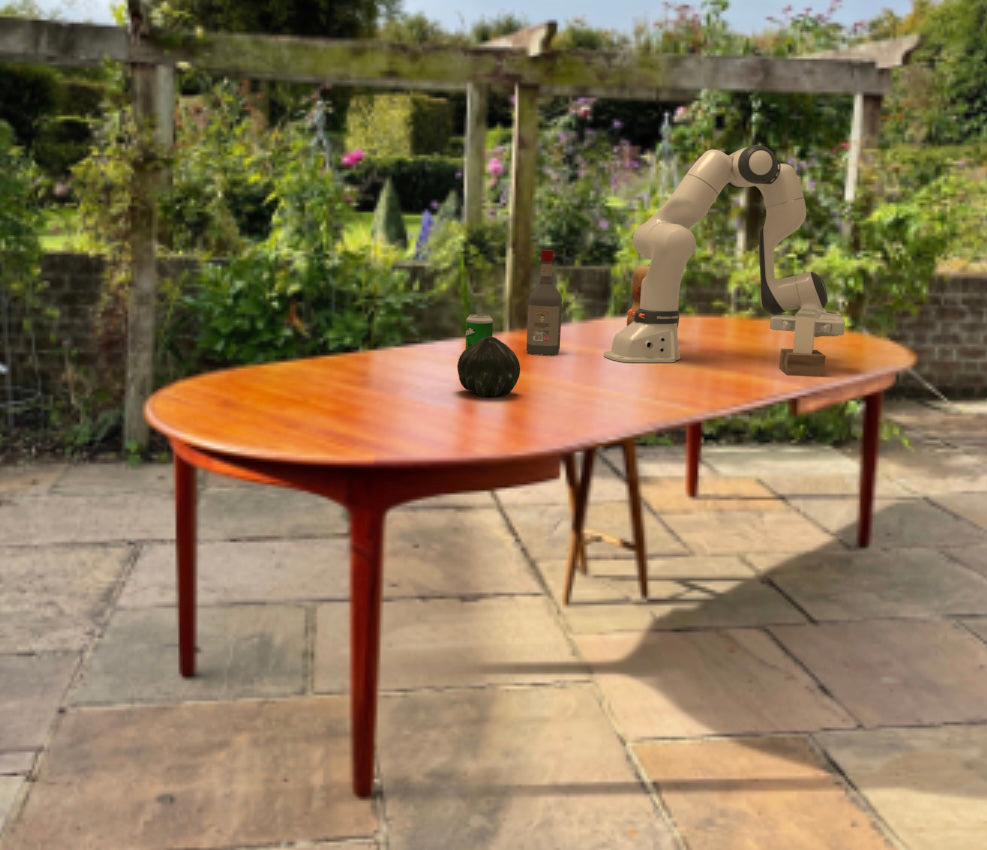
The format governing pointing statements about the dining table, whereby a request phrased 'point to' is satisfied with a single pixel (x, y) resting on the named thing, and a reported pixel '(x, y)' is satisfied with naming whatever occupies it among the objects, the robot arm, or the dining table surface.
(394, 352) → the dining table surface
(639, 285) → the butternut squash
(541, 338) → the liquor
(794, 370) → the walnut block
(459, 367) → the squash
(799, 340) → the tall cream box
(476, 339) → the soda can
